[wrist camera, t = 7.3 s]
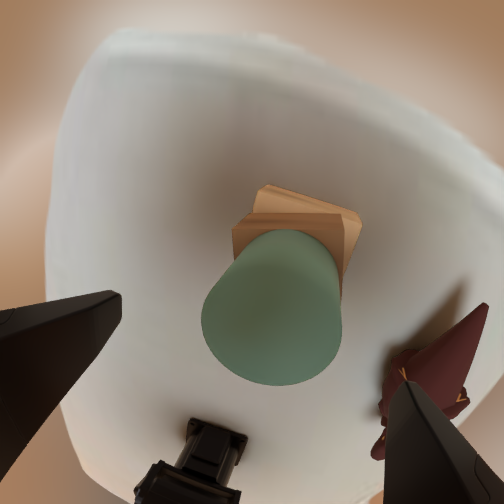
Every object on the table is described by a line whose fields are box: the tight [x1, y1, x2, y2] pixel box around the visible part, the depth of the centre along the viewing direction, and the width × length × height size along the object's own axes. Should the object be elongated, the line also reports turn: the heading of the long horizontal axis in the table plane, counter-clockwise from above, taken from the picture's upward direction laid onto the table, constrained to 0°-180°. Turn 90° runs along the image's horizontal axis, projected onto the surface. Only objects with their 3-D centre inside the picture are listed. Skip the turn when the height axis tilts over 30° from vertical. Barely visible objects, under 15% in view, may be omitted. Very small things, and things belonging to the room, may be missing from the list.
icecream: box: [371, 302, 489, 461], centre depth 18 cm, size 7×7×15 cm
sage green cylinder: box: [201, 229, 342, 386], centre depth 12 cm, size 5×5×4 cm
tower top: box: [232, 213, 345, 303], centre depth 16 cm, size 5×5×4 cm
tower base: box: [252, 184, 363, 276], centre depth 19 cm, size 6×6×4 cm
